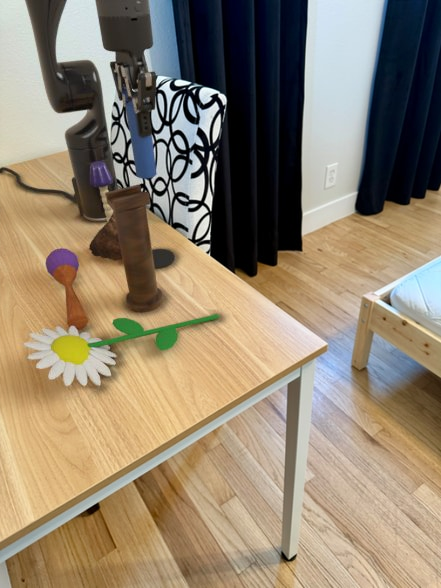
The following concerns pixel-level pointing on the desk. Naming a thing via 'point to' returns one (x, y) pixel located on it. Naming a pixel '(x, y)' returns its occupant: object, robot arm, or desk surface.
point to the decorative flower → (93, 348)
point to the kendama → (67, 284)
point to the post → (135, 247)
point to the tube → (141, 147)
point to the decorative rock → (107, 242)
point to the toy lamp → (101, 183)
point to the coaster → (162, 258)
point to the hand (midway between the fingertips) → (140, 132)
